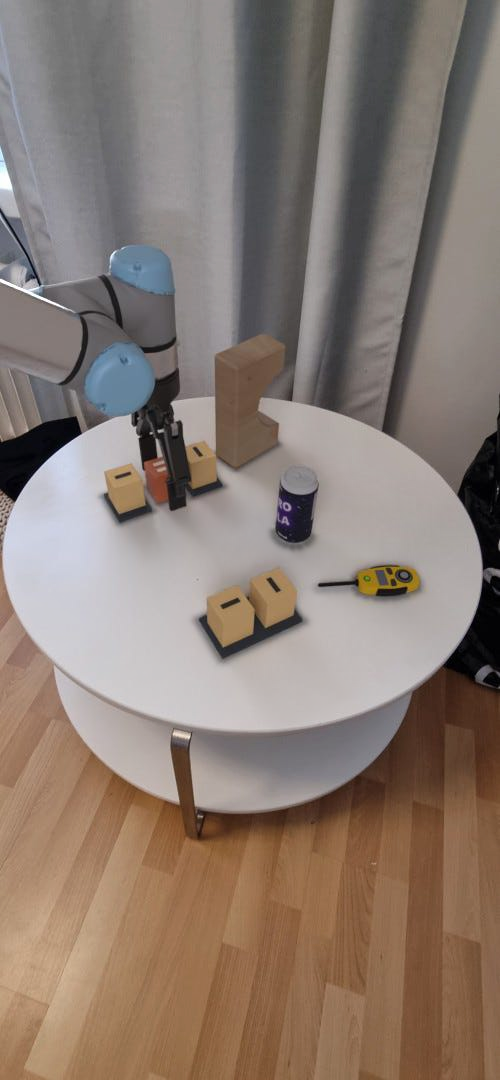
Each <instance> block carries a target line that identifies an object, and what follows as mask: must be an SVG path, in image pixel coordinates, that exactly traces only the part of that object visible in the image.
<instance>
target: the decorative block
mask: <svg viewBox="0 0 500 1080" xmlns="http://www.w3.org/2000/svg"><path fill="white" fill-rule="evenodd" d="M285 356H286V345H285V344H284V343H282V342H281V341H279V340H277V339H275V338H273V337H271V336H269V335H267V334H266V333H263V332H262V333H260V334H258V335H256V336H253V337H252V338H249V339H247V340H244V341H242V342H240V343H238V344H236V345H233V346H231V347H229V348H227V349H224V350H222V351H220V352H218V353H215V355H214V411H215V412H214V415H215V418H214V419H215V420H214V421H215V455H216V457H219V458H220V459H222V460H223V461H224V462H225V463H227V464H228V465H230V466H231V467H233V468H234V469H237V468H238V467H240V466H242V465H244V464H245V463H247V462H249V461H251V460H253V459H254V458H256V457H257V456H259V455H261V454H263V453H264V452H266V451H267V450H269V449H271V448H273V447H274V446H276V445H278V441H279V429H280V428H279V427H280V423H279V422H278V421H276V420H274V419H273V418H271V417H270V416H268V415H267V414H265V413H263V412H262V411H260V410H259V408H260V407H259V406H260V401H261V399H262V397H263V395H264V393H265V391H266V389H267V388H268V386H269V385H270V384H271V382H272V381H273V380H274V379H275V377H277V376H278V375H279V374H280V373H282V372H283V371H284V367H285Z"/></svg>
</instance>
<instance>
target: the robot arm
mask: <svg viewBox="0 0 500 1080" xmlns="http://www.w3.org/2000/svg"><path fill="white" fill-rule="evenodd" d="M108 271H109V272H106V273H101V274H100V275H97V276H92V277H86V278H80V279H76V280H75V279H74V280H69V281H64V282H58V283H53V284H52V283H51V284H41V285H40V286H38V287H33V288H30V289H24V288H22V287H19V286H17V285H15V284H13V283H10V282H8V281H5V280H4V279H1V278H0V367H3V368H5V369H8V370H11V371H14V372H18V373H20V374H24V375H27V376H29V377H32V378H36V379H39V380H41V381H46V382H48V383H51V384H55V385H57V386H61V387H63V388H66V389H69V390H71V391H74V392H77V393H80V394H82V395H84V397H85V398H86V400H87V401H88V402H89V403H90V405H92V406H94V407H95V409H97V410H98V411H99V412H100V413H102V414H104V415H106V416H108V417H109V416H110V417H116V418H118V417H119V418H120V417H121V418H122V417H126V416H130V418H131V419H130V421H131V422H130V424H131V426H132V427H133V428H135V433H136V435H137V436H138V439H137V440H138V446H139V455H140V461H141V469H142V470H143V472H145V468H144V462H146V461H150V460H153V459H156V458H159V457H158V447H157V442H158V445H159V448H160V452H161V455H162V456H163V459H164V462H165V466H166V469H167V473H168V476H169V477H167V478H166V480H165V482H166V484H167V491H168V500H167V501H168V509H169V511H170V512H174V511H176V510H177V511H178V510H180V509H183V508H185V507H187V495H186V493H187V492H186V487H185V484H186V483H189V482H191V481H192V478H191V474H190V469H189V464H188V458H187V453H186V448H185V446H186V443H185V438H184V425H183V424H184V423H183V422H182V420H181V419H178V420H175V411H174V407H173V406H172V403H173V401H174V400H175V399H176V398H177V397H178V396H179V395H180V392H181V379H180V369H179V367H178V366H179V354H178V346H180V344H181V343H180V342H181V341H180V340H179V339H178V337H177V335H178V334H177V323H176V302H175V301H176V299H175V294H176V288H175V282H174V281H175V280H174V274H173V273H174V272H173V267H172V261H171V259H170V257H169V256H168V255H167V253H165V252H164V251H163V250H162V249H160V248H158V247H155V246H151V245H143V244H136V245H135V244H134V245H126V246H123V247H122V248H121V249H117V250H115V251H113V252H112V253H111V255H110V257H109V267H108ZM159 431H160V432H159ZM150 433H151V434H150ZM162 456H161V457H162Z"/></svg>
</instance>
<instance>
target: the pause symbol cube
mask: <svg viewBox="0 0 500 1080" xmlns="http://www.w3.org/2000/svg"><path fill="white" fill-rule="evenodd" d="M144 468H145V471H144V474H145V483H146V488H147V490H148V491H149V493H150V494H151V496H152V498H153V499H154V501H155V502H156V504H162V503H164V502H167V501H168V491H167V484H166V482H165V480H166V478H167V477H169V476H168V473H167V469H166V466H165V462H164V459H163V456H159V457H158V458H156V459H153V460H150V461H146V462H144Z"/></svg>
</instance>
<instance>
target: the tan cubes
mask: <svg viewBox="0 0 500 1080" xmlns="http://www.w3.org/2000/svg"><path fill="white" fill-rule="evenodd" d="M185 448H186V453H187V458H188V464H189V469H190V474H191V478H192V481H191V482H189V483H186V484H185V489H186V490H187V491H188V492H189V493H190V495H191V496H192V497H193V498H195V497H199V496H200V495H203V494H207V493H209V492H212V491H215V490H218V489H221V488H223V486H224V485H223V483H222V482H221V481H220V479H219V478H218V476H217V475H218V473H217V472H218V470H217V463H218V462H217V455H216V452H214V451H213V450H212V448H211V447H210V446H209V444H208V443H207V442H206V441H205V440H202V441H198V442H195V443H192V444H188V445H185ZM103 473H104V478H105V479H104V480H105V483H106V484H105V485H106V489H107V492H106V493H105V492H104V493H103V497H104V499H105V500H106V503H107V505H108V506H109V507H110V509H111V511H112V513H113V514H114V516H115V518H116V520H117V522H118V523H123V522H126V521H128V520H131V519H134V518H137V517H140V516H143V515H146V514H149V513H152V512H153V510H152V507H151V505H150V504H149V502H148V501H147V500H146V497H145V490H144V489H145V488H144V481H143V478H142V477H141V475H140V474H139V473H138V471H137V469H136V468H135V467H134V465H133V463H127V464H124V465H121V466H118V467H115V468H111V469H108V470H105V471H103Z"/></svg>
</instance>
